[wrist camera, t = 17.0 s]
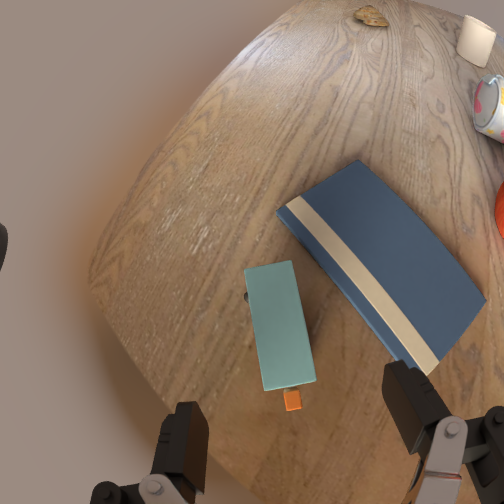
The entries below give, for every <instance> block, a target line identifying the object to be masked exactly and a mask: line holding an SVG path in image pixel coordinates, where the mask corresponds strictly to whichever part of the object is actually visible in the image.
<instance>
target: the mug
mask: <svg viewBox="0 0 504 504" xmlns="http://www.w3.org/2000/svg"><path fill="white" fill-rule="evenodd" d="M495 36H496V31H495V30H493V29H492V28H491V27H489V26H488V25H486V24H484V23H483V22H481V21H479V20H477V19H475V18H473V17H471V16H469V15H465V16H464V20H463V25H462V29H461V33H460V36H459V40H458V44H457V47H456V51H457V53H458V54H459V55H460V56H462V57H463V58H464V59H466V60H467V61H469V62H471V63H472V64H474V65H476V66H479V67H482V68H484V67H485V66H486V64H487V61H488V58H489V55H490V52H491V49H492V46H493V43H494V40H495Z"/></svg>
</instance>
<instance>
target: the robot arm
mask: <svg viewBox="0 0 504 504" xmlns="http://www.w3.org/2000/svg"><path fill="white" fill-rule="evenodd" d="M382 395H383V398H384V401H385V403H386V405H387V407H388V409H389V411H390V413H391V415H392V417H393V419H394V421H395V424H396V426H397V428H398V430H399V432H400V434H401V436H402V439H403V441H404V443H405V445H406V447H407V450H408V452H409V454H410V455H412V454H414V453H416V452H418V453H419V456H420V459H419V461H418V464H417V467H416V470H415V473H414V476H413V478H412V481H411V484H410V486H409V489H408V491H407V493H406V496H405V498H404V499H403V501H402V503H401V504H455V502H456V499H457V496H458V492H459V489H460V485H461V480H462V478H461V476H460V475H459V472H460V468H461V464H464V463H465V465H466V467H467V469H468V472H469V474H470V476H471V479H472V481H473V484H474V486H475V489H476V491H477V494H478V496H479V499H480V502H481V504H504V407H503V406H495V407H493V408H491V409H490V410H489V411H488V412H487V413H486V415H485V416H483V417H479V418H475V419H470V420H463V419H462V418H460V417H457V416H453V415H452V414H451V413H450V411H449V410H448V408H447V407H446V405H445V403H444V402H443V400H442V399H441V397H440V396H439V394H438V393H437V391H436V390H435V389H434V387H433V385H432V384H431V383H430V381H429V379H428V378H427V376H426V375H425V373H424V372H422V371H421V370H419V369H418V368H416V367H412V368H410V369H409V368H408V366H407V365H406V363H405V362H404V360H402V359H400V360H398V361H395V362H392V363H389V364H386V365H385V368H384V375H383V382H382ZM208 438H209V427H208V423H207V420H206V418H205V417H204V415H203V413H202V411H201V409H200V407H199V405H198V404H197V402H196V401H191V402H179V403H178V404H177V406H176V411H175V414H169V415H168V416H167V417H166V419H165V420H164V421H163V423H162V426H161V431H160V435H159V439H158V444H157V447H156V452H155V457H154V461H153V466H152V470H151V473H150V475H148V476H146V477H145V478H143V480H142V481H141V482H140V483H138V484H133V485H127V486H120V487H119V486H117V485H116V484H114V483H112V482H109V481H105V482H101V483H99V484H98V485H96V486H95V488H94V489H93V492H92V496H91V501H90V504H196V503H195V496H196V494H199V495H203V494H204V488H205V474H206V462H207V450H208Z"/></svg>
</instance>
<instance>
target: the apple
mask: <svg viewBox="0 0 504 504" xmlns="http://www.w3.org/2000/svg"><path fill="white" fill-rule="evenodd" d="M495 220H496V223H497V227H498V229H499V232H500V234H501V236H502V237H503V239H504V182H503V183H502V185H501V186H500V188H499V190H498V193H497V197H496V203H495Z"/></svg>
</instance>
